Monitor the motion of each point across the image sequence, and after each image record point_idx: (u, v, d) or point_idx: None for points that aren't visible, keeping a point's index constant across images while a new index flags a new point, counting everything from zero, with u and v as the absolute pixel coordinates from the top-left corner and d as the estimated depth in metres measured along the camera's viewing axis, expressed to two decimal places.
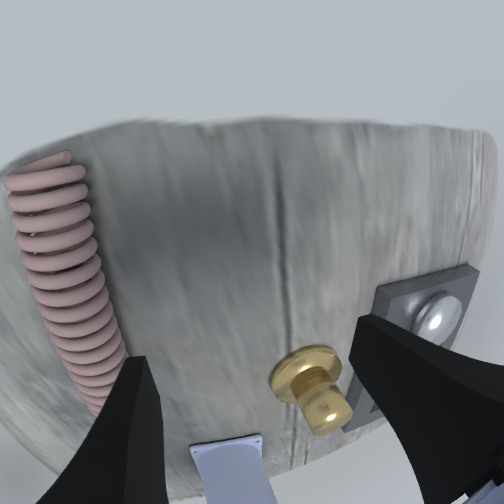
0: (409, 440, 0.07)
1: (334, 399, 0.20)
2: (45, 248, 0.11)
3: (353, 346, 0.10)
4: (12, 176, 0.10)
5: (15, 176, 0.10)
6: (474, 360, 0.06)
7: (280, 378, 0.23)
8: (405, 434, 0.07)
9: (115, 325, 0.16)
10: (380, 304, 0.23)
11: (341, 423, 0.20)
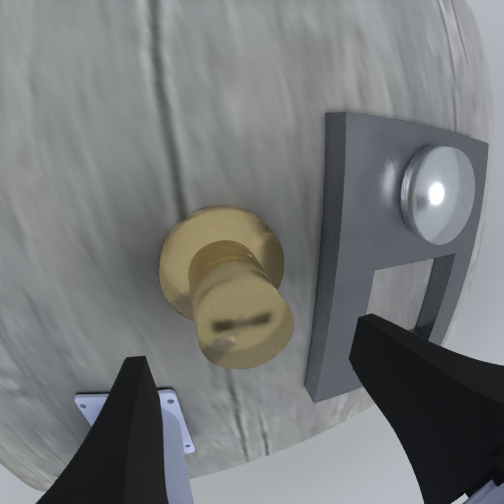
0: (409, 440, 0.07)
1: (245, 278, 0.11)
2: None
3: (353, 346, 0.10)
4: None
5: None
6: (474, 360, 0.06)
7: (166, 256, 0.14)
8: (405, 434, 0.07)
9: None
10: (334, 136, 0.14)
11: (270, 344, 0.11)
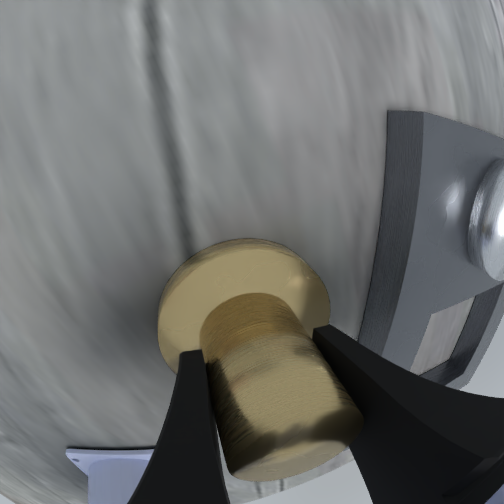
0: (364, 463, 0.06)
1: (300, 379, 0.06)
2: None
3: None
4: None
5: None
6: (436, 384, 0.05)
7: (167, 316, 0.09)
8: (360, 456, 0.07)
9: None
10: (401, 143, 0.09)
11: (327, 452, 0.06)
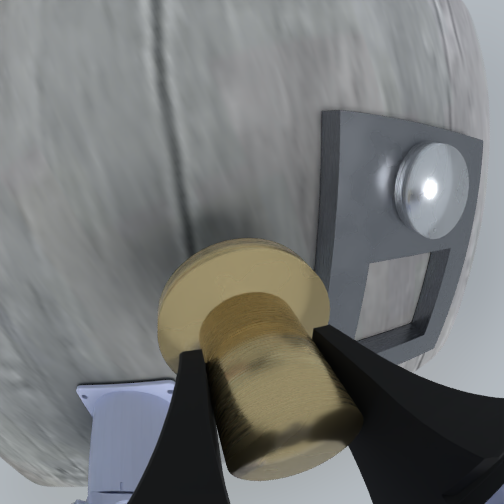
0: (364, 463, 0.06)
1: (300, 378, 0.06)
2: None
3: None
4: None
5: None
6: (435, 384, 0.05)
7: (167, 316, 0.09)
8: (360, 456, 0.07)
9: None
10: (329, 133, 0.14)
11: (326, 452, 0.06)
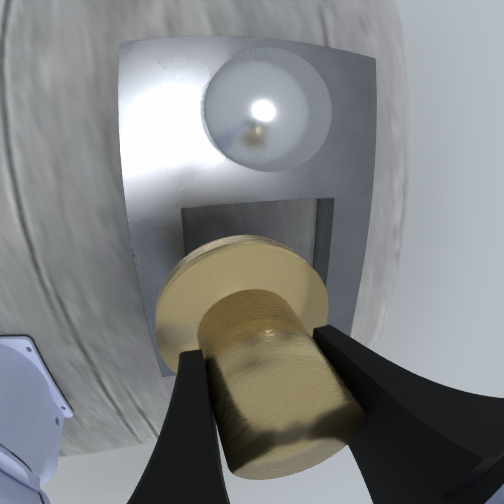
0: (364, 463, 0.06)
1: (299, 375, 0.06)
2: None
3: None
4: None
5: None
6: (436, 384, 0.05)
7: (164, 315, 0.09)
8: (360, 456, 0.07)
9: None
10: None
11: (329, 449, 0.06)
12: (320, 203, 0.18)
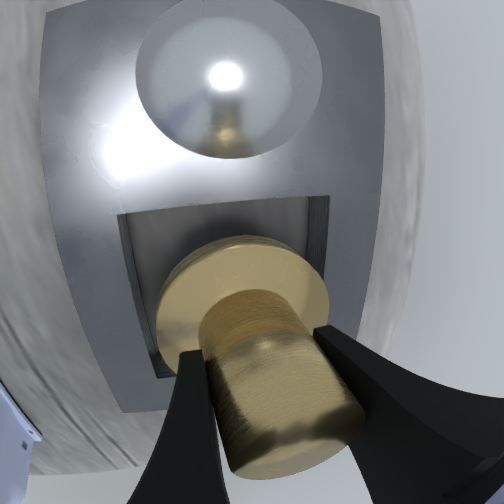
0: (364, 463, 0.06)
1: (300, 375, 0.06)
2: None
3: None
4: None
5: None
6: (436, 384, 0.05)
7: (165, 315, 0.09)
8: (360, 456, 0.07)
9: None
10: None
11: (329, 448, 0.06)
12: (311, 203, 0.14)
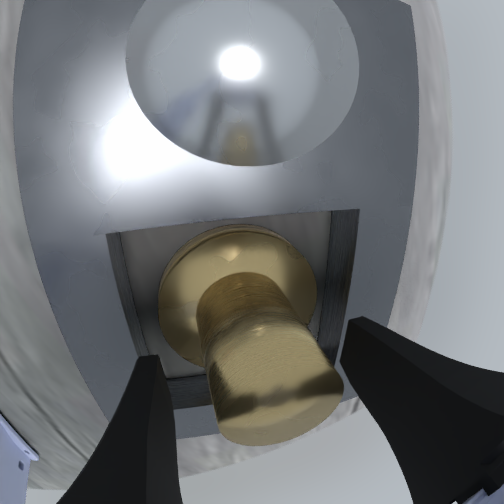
0: (399, 445, 0.07)
1: (281, 341, 0.07)
2: None
3: (344, 349, 0.10)
4: None
5: None
6: (466, 365, 0.06)
7: (166, 295, 0.10)
8: (395, 439, 0.07)
9: None
10: None
11: (312, 417, 0.07)
12: (334, 216, 0.12)
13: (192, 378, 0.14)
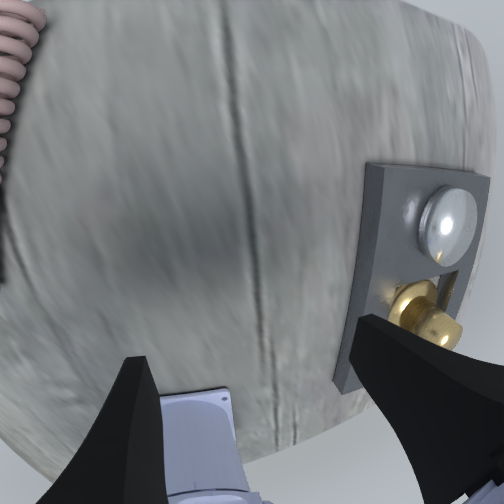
0: (409, 440, 0.07)
1: (449, 319, 0.19)
2: None
3: (353, 346, 0.10)
4: None
5: None
6: (474, 360, 0.06)
7: (395, 308, 0.22)
8: (405, 434, 0.07)
9: None
10: (372, 183, 0.17)
11: (451, 346, 0.20)
12: None
13: None
